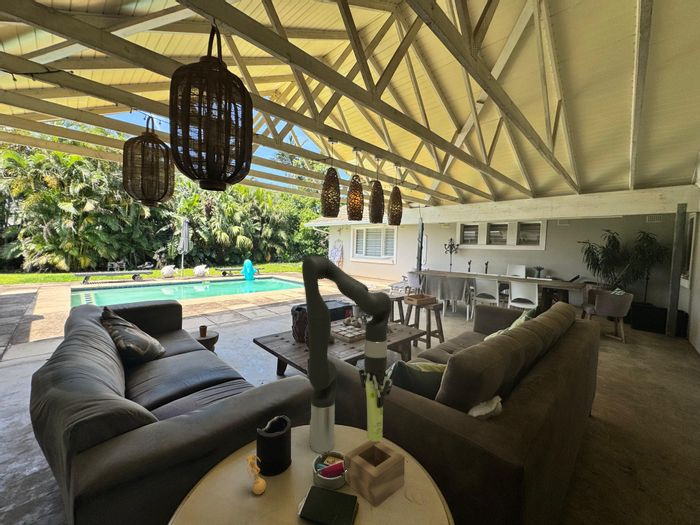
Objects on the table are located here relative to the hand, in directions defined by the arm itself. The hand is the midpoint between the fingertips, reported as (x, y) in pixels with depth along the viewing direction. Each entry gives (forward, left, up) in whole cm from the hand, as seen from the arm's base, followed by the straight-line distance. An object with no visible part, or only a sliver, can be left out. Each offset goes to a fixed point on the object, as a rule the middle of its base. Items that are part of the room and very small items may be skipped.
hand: (374, 404), depth 98 cm
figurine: (-22, -31, -26) cm, 46 cm away
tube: (0, 0, -11) cm, 11 cm away
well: (0, 0, -26) cm, 26 cm away
